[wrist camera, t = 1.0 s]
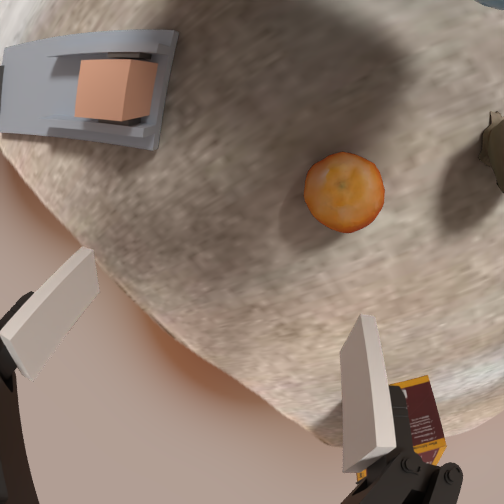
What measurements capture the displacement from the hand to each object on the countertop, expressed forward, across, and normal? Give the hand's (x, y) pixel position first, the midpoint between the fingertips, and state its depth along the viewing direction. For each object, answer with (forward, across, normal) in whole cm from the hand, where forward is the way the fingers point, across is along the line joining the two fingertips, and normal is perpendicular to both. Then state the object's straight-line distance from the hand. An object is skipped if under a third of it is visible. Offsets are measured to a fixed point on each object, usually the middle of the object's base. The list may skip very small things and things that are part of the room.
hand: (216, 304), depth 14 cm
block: (+21, -17, +8) cm, 28 cm away
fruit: (+22, +8, +1) cm, 24 cm away
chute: (+22, -28, +8) cm, 36 cm away
